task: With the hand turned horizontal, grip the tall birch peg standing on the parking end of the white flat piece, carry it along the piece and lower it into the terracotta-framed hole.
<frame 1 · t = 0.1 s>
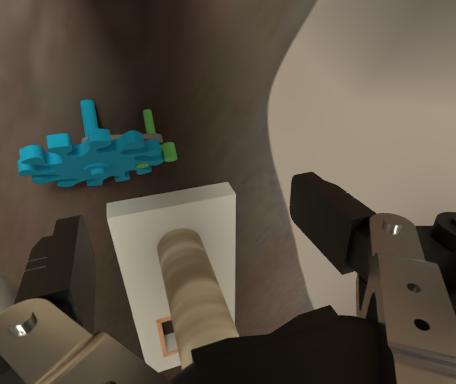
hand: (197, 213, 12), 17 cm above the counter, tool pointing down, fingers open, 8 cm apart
white flat piece: (181, 282, 38), on the counter
gear: (103, 140, 27), on the counter
peg: (179, 246, 32), point 2 cm above the counter, touching white flat piece
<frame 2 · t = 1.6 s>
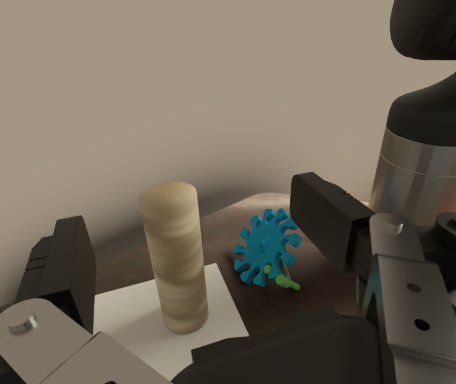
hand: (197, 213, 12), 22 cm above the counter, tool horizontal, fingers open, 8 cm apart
white flat piece: (108, 356, 31), on the counter
gear: (265, 272, 40), on the counter
peg: (186, 314, 32), point 3 cm above the counter, touching white flat piece
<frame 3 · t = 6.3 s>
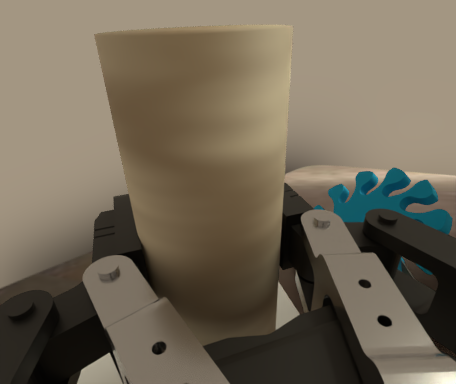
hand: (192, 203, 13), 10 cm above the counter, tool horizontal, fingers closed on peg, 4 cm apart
gear: (358, 283, 23), on the counter
peg: (222, 377, 14), point 3 cm above the counter, touching gripper, white flat piece
when the fingers open (9 cm above the counter, at t = 11.1 s): peg drops 1 cm, resting in white flat piece.
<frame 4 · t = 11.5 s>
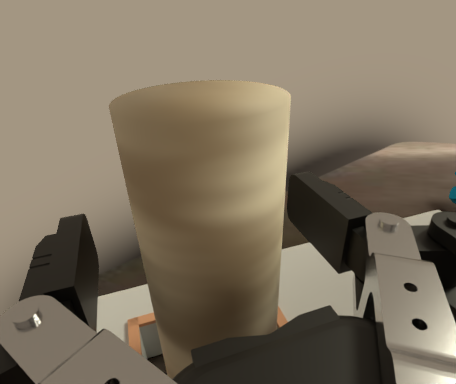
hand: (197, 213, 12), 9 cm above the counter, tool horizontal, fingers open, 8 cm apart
white flat piece: (332, 356, 17), on the counter
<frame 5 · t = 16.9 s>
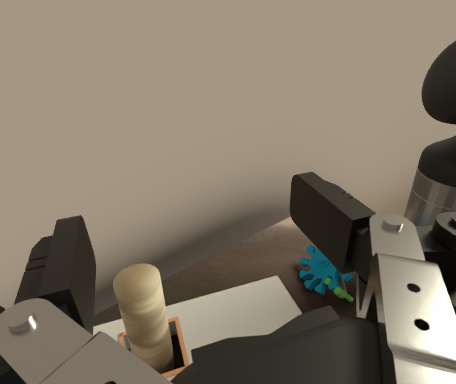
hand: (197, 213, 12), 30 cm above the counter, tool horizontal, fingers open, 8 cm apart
white flat piece: (203, 348, 40), on the counter
gear: (325, 283, 49), on the counter
peg: (156, 364, 38), resting in white flat piece
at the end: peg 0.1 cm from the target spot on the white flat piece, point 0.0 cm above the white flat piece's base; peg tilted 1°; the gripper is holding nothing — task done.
